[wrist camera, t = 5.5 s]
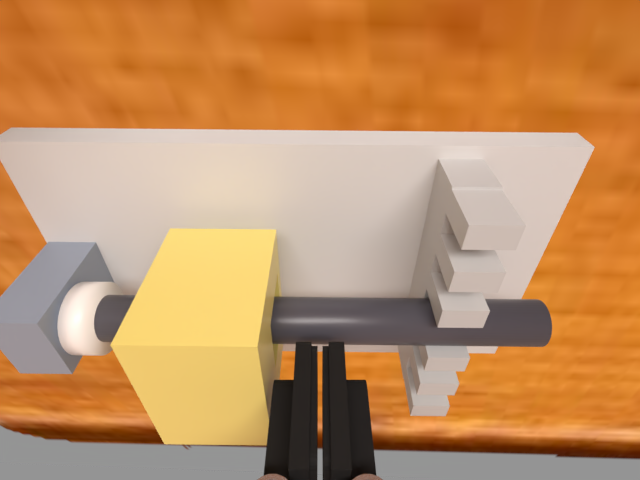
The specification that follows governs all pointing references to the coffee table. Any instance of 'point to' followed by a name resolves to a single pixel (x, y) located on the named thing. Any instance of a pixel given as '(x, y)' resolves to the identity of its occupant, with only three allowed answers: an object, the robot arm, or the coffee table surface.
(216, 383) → the yellow sliding block
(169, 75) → the coffee table surface
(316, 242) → the comb board
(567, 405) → the coffee table surface
